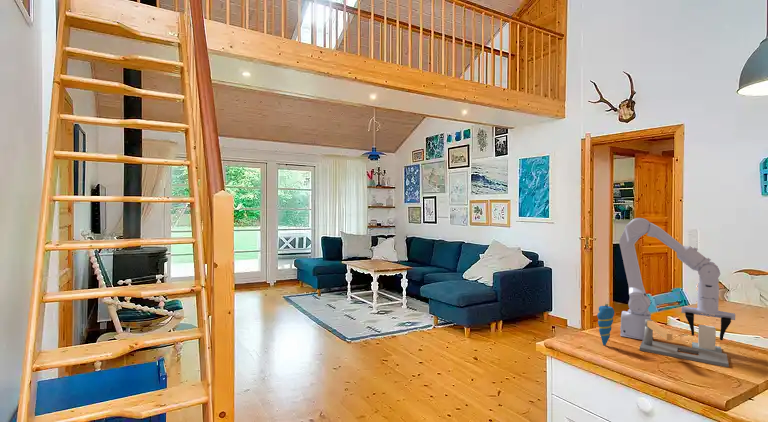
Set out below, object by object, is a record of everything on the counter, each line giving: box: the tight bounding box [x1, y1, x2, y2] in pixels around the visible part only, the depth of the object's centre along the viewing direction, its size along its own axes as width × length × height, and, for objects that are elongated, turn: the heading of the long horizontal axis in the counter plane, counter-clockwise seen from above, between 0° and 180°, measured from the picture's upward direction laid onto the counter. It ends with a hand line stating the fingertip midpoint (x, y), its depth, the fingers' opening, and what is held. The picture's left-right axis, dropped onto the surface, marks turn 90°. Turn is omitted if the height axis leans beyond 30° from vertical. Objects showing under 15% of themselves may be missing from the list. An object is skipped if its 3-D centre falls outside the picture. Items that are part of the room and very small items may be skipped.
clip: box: [645, 319, 673, 342], centre depth 136 cm, size 18×2×2 cm, turn 166°
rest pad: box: [691, 341, 723, 353], centre depth 144 cm, size 8×8×1 cm
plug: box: [697, 324, 717, 350], centre depth 144 cm, size 4×4×7 cm
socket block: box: [638, 326, 729, 368], centre depth 138 cm, size 23×12×7 cm, turn 53°
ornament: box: [596, 301, 615, 346], centre depth 144 cm, size 5×5×15 cm
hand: (706, 337), depth 144 cm, fingers open, 7 cm apart
